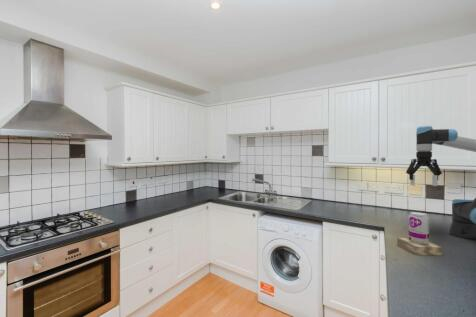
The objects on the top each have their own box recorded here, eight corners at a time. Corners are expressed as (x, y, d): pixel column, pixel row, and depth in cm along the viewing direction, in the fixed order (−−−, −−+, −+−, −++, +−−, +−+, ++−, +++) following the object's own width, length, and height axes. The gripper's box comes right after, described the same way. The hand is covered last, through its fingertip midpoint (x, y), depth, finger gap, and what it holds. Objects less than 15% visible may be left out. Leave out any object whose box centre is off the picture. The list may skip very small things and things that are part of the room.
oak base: (421, 245, 126) (421, 238, 126) (441, 255, 113) (441, 247, 113) (397, 245, 126) (397, 237, 126) (415, 254, 113) (415, 246, 113)
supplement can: (420, 245, 115) (421, 215, 115) (404, 240, 123) (405, 212, 123) (432, 244, 117) (433, 214, 117) (416, 239, 125) (416, 211, 125)
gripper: (439, 151, 146) (438, 185, 146) (399, 151, 146) (399, 184, 146) (449, 151, 138) (449, 186, 138) (408, 150, 139) (407, 185, 138)
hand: (423, 185), depth 142 cm, fingers open, 13 cm apart
